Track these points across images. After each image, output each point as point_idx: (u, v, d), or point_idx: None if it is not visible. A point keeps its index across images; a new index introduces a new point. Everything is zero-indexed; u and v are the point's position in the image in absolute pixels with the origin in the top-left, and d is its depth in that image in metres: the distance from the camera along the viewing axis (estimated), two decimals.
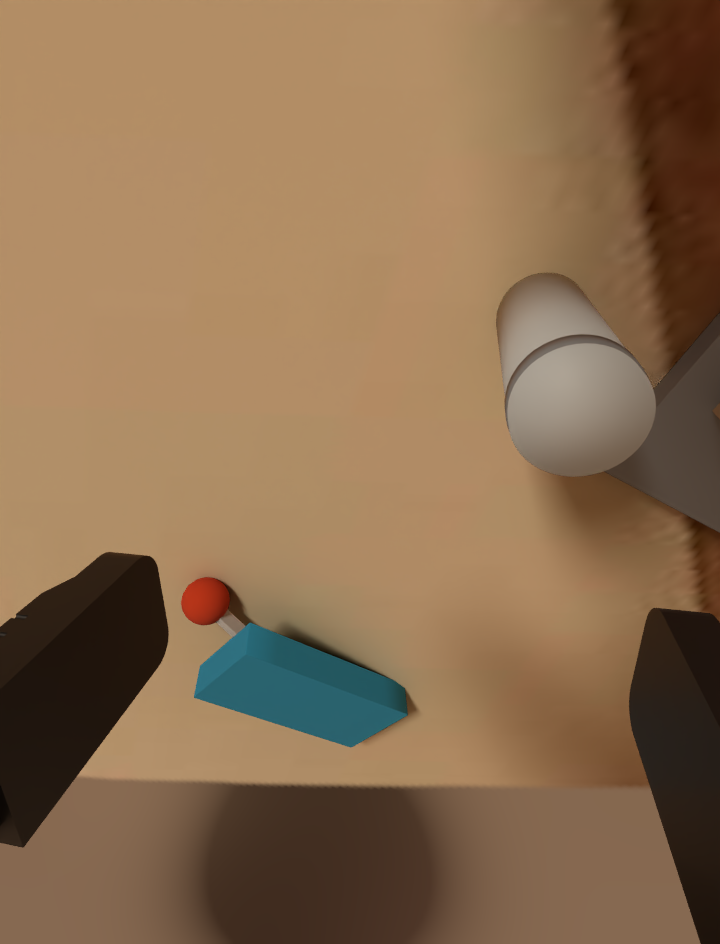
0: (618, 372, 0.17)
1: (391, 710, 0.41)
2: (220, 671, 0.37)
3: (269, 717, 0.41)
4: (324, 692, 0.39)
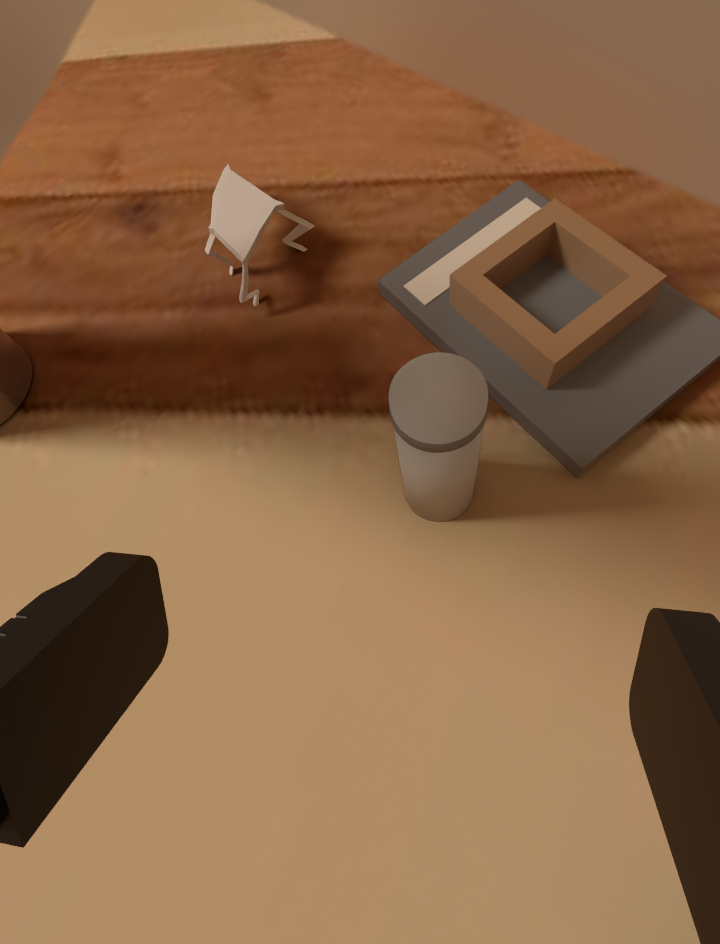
0: (414, 368, 0.25)
1: None
2: None
3: None
4: None
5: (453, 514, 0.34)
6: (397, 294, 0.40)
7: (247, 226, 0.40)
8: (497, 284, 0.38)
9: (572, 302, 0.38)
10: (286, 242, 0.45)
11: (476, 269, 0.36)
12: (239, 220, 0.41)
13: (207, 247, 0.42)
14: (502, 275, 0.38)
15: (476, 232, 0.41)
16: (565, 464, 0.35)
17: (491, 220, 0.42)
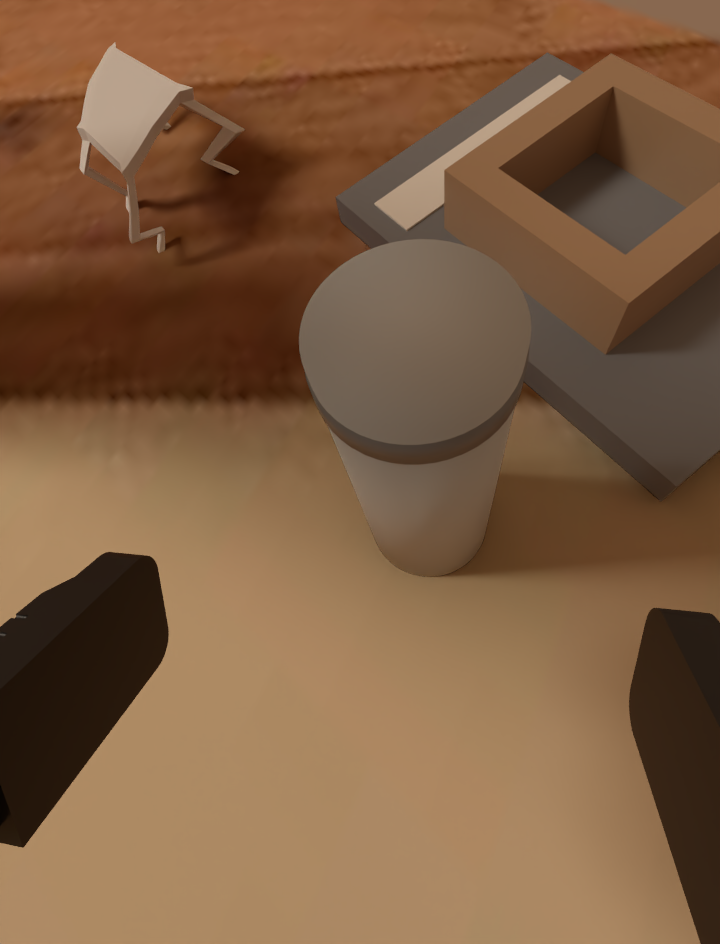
0: (359, 274, 0.11)
1: None
2: None
3: None
4: None
5: (452, 566, 0.20)
6: (365, 216, 0.26)
7: (133, 121, 0.26)
8: None
9: (640, 219, 0.24)
10: (207, 160, 0.30)
11: (487, 160, 0.22)
12: (122, 114, 0.26)
13: (82, 163, 0.28)
14: (529, 178, 0.24)
15: (485, 125, 0.27)
16: (641, 478, 0.21)
17: (507, 108, 0.28)
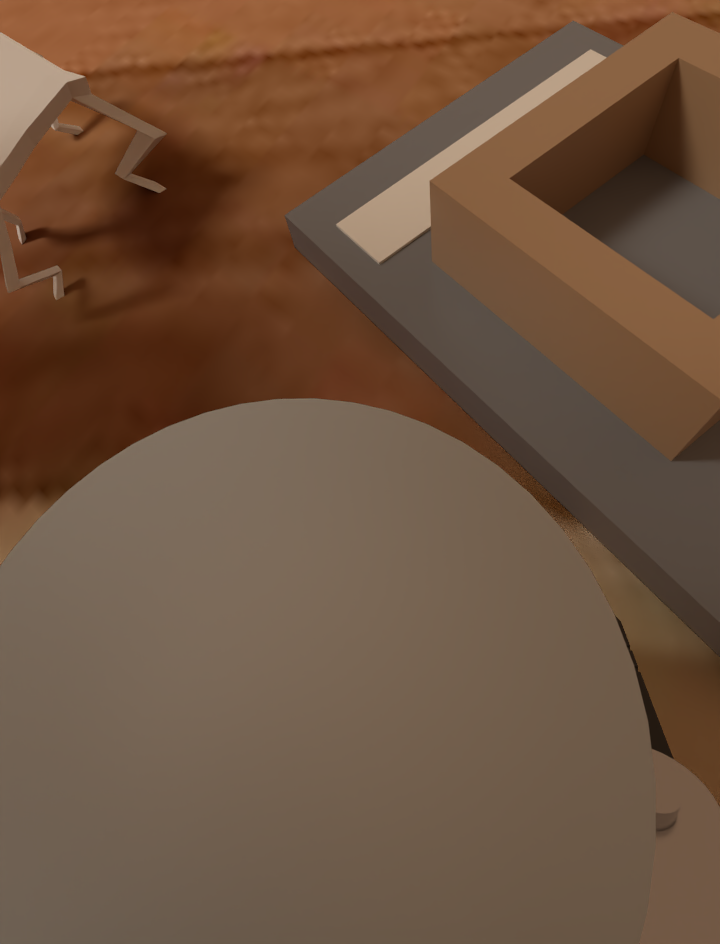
0: (137, 502, 0.04)
1: None
2: None
3: None
4: None
5: None
6: (323, 243, 0.19)
7: (0, 124, 0.19)
8: None
9: (713, 251, 0.16)
10: (122, 175, 0.23)
11: (494, 167, 0.15)
12: None
13: None
14: (553, 191, 0.17)
15: (489, 117, 0.20)
16: None
17: (520, 94, 0.20)
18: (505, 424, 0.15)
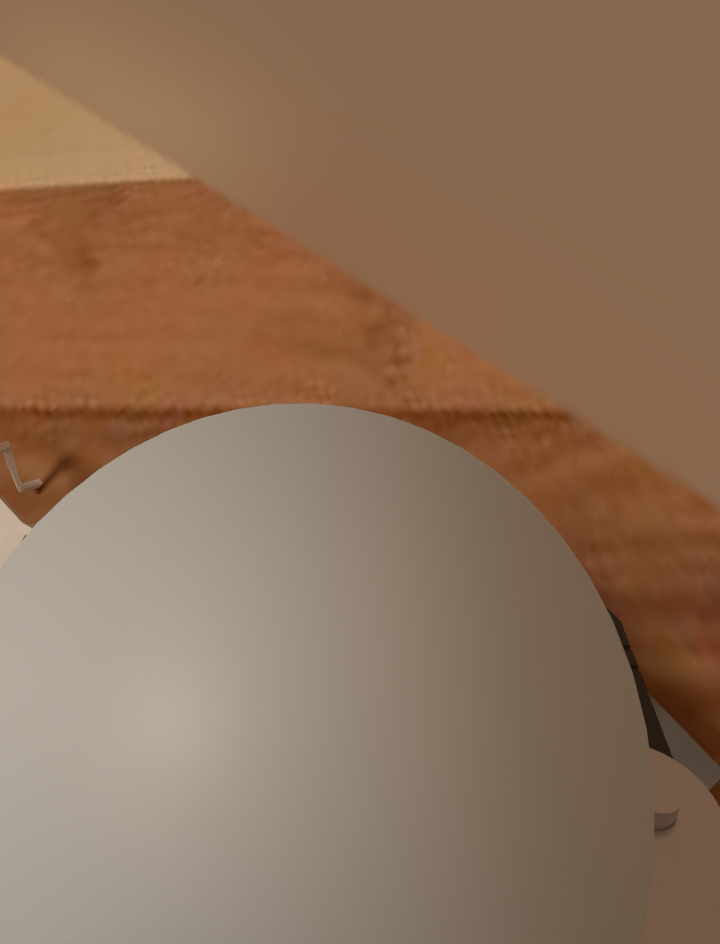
0: (135, 508, 0.04)
1: None
2: None
3: None
4: None
5: None
6: None
7: None
8: None
9: None
10: None
11: None
12: None
13: None
14: None
15: None
16: None
17: None
18: None
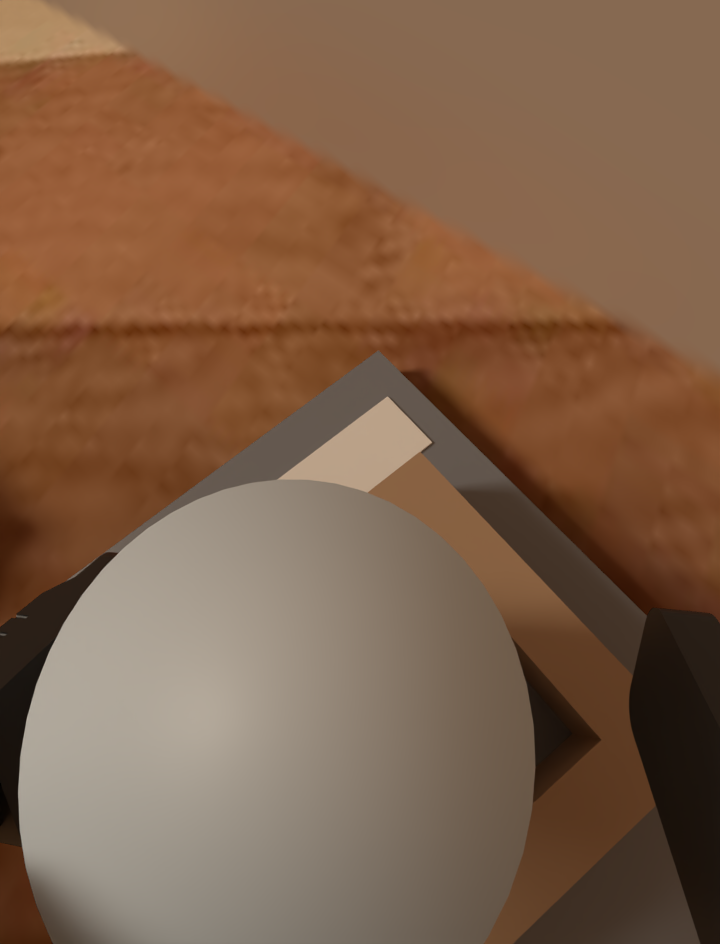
0: (175, 558, 0.05)
1: None
2: None
3: None
4: None
5: None
6: None
7: None
8: None
9: None
10: None
11: None
12: None
13: None
14: None
15: (275, 477, 0.19)
16: None
17: (310, 449, 0.19)
18: None
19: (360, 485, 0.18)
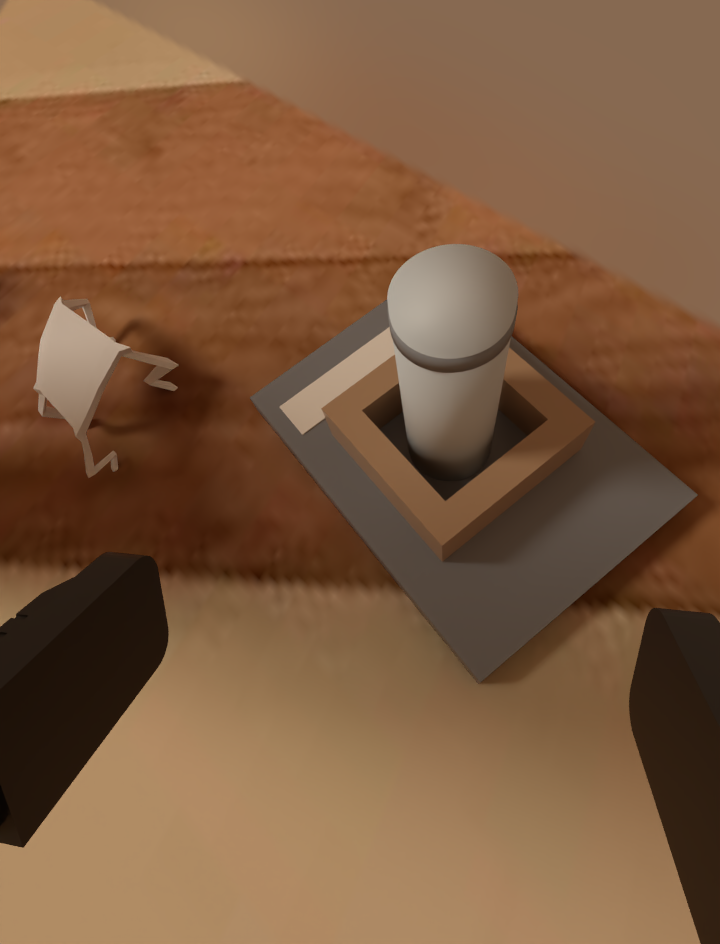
0: (421, 263, 0.20)
1: None
2: None
3: None
4: None
5: (466, 472, 0.28)
6: (271, 418, 0.32)
7: (82, 383, 0.31)
8: (390, 412, 0.30)
9: None
10: (149, 383, 0.35)
11: (355, 402, 0.28)
12: (72, 375, 0.31)
13: (40, 408, 0.33)
14: (395, 403, 0.30)
15: (374, 336, 0.33)
16: None
17: None
18: (362, 537, 0.29)
19: None
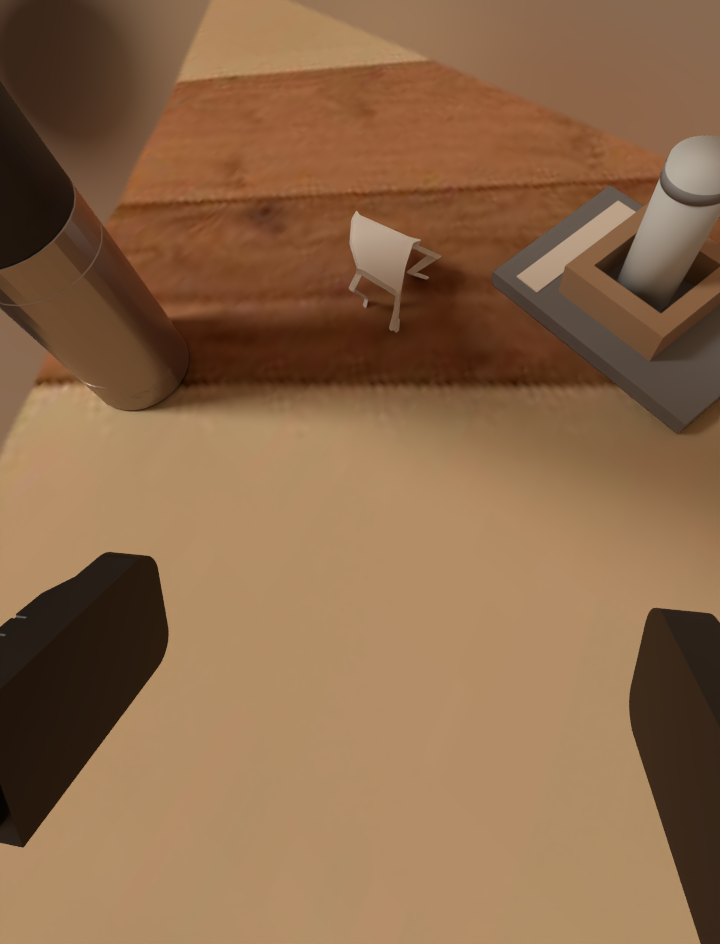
0: (685, 146, 0.34)
1: None
2: None
3: None
4: None
5: (660, 306, 0.43)
6: (511, 283, 0.47)
7: (393, 263, 0.45)
8: None
9: None
10: (412, 273, 0.50)
11: (588, 261, 0.43)
12: (383, 259, 0.46)
13: (352, 286, 0.47)
14: (606, 266, 0.45)
15: (576, 230, 0.48)
16: (667, 423, 0.41)
17: (588, 220, 0.48)
18: (591, 351, 0.44)
19: (613, 229, 0.48)
